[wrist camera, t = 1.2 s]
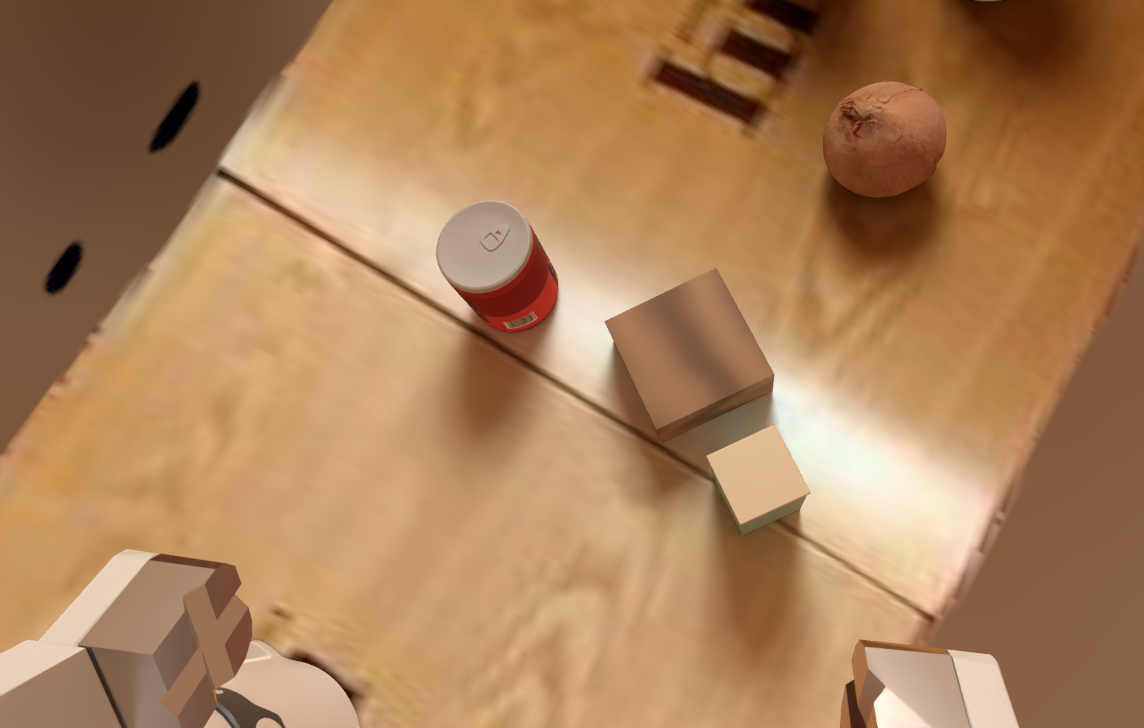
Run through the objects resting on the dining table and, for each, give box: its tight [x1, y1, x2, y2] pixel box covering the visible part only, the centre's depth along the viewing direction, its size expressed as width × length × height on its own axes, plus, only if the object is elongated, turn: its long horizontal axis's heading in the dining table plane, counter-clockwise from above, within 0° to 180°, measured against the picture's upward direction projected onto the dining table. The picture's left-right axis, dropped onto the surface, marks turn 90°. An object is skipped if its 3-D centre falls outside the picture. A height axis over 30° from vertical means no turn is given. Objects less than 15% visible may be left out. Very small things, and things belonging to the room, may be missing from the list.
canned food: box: [436, 200, 558, 332], centre depth 71 cm, size 8×8×11 cm
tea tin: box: [707, 424, 810, 536], centre depth 62 cm, size 5×5×10 cm
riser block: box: [605, 268, 774, 442], centre depth 69 cm, size 10×10×5 cm
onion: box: [823, 82, 946, 197], centre depth 69 cm, size 10×9×10 cm
